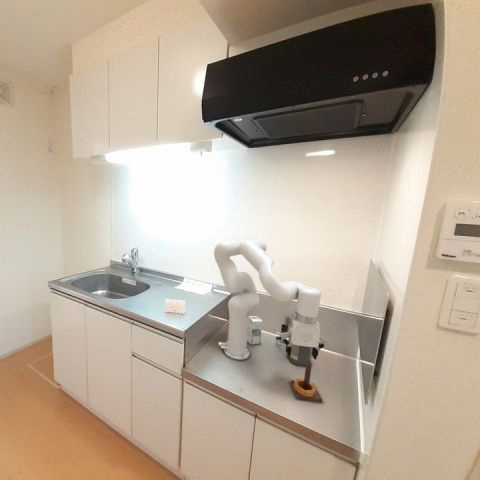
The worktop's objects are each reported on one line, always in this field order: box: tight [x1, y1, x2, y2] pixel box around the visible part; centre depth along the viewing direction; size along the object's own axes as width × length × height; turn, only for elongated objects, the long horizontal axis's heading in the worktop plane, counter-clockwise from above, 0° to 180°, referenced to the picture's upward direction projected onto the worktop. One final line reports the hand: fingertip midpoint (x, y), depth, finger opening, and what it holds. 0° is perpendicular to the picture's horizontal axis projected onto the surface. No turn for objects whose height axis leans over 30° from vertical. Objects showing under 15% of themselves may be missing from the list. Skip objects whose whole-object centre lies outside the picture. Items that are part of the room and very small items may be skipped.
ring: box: [294, 378, 317, 397], centre depth 106 cm, size 8×8×2 cm
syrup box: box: [247, 315, 263, 346], centre depth 141 cm, size 6×6×14 cm
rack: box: [290, 362, 323, 403], centre depth 105 cm, size 9×9×14 cm
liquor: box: [286, 344, 313, 367], centre depth 124 cm, size 9×9×30 cm
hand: (301, 355), depth 104 cm, fingers open, 9 cm apart
